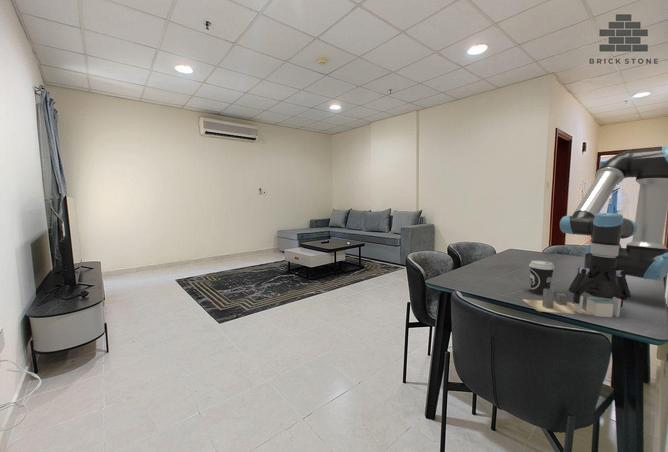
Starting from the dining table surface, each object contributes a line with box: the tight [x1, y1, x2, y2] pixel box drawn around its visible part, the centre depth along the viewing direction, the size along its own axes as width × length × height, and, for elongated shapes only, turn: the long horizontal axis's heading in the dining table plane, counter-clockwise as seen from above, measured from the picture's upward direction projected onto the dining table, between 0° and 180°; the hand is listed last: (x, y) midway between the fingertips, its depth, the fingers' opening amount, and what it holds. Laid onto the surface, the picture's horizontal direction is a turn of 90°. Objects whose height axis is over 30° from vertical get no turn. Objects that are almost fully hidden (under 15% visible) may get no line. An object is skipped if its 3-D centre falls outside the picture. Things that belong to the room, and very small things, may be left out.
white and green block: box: [585, 296, 614, 318], centre depth 107 cm, size 5×5×7 cm
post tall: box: [542, 288, 556, 308], centre depth 114 cm, size 3×3×7 cm
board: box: [521, 298, 593, 316], centre depth 114 cm, size 18×13×1 cm
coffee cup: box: [528, 260, 556, 296], centre depth 131 cm, size 10×10×15 cm
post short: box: [555, 292, 568, 305], centre depth 117 cm, size 3×3×4 cm
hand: (596, 313), depth 107 cm, fingers open, 11 cm apart
